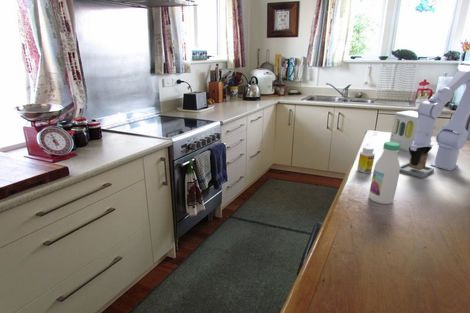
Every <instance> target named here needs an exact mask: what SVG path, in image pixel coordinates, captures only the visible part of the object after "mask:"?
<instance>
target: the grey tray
mask: <svg viewBox="0 0 470 313" xmlns="http://www.w3.org/2000/svg"><path fill="white" fill-rule="evenodd" d="M409 163H410V161H407V162H405V163H404V164H400V174H401V173H402V174H404V175H407V176H410V177H414V178H417V179H421V180H423V179H424V178H426V177H427V176H429V175H431V174H432V173H434V171H435V168H433V167H430V166H426V165H425V168H423V169H422V170H417V169H414V168H411V167H409Z"/></svg>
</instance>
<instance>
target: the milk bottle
mask: <svg viewBox="0 0 470 313" xmlns="http://www.w3.org/2000/svg"><path fill="white" fill-rule="evenodd" d="M399 152H400V145H399V144H398V143H395V142H390V141H385V142H384V143H383V152H382V153H381V154H380V156H379V158H378V159H377V161H376V162H375V165H374V168H373V171H372V178H371V183H370V187H369V193H368V198H369V199H370V200H371V201H373V203H374V202H375V203H377V204H381V205H389V204H390V205H391V204H393V202H394V201H395V200H394V199H395V196H396V195H395V194H396V191H397V186H398V182H399V177H400V174H401V172H400V166H401V164H400V160H399V156H398V153H399Z"/></svg>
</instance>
